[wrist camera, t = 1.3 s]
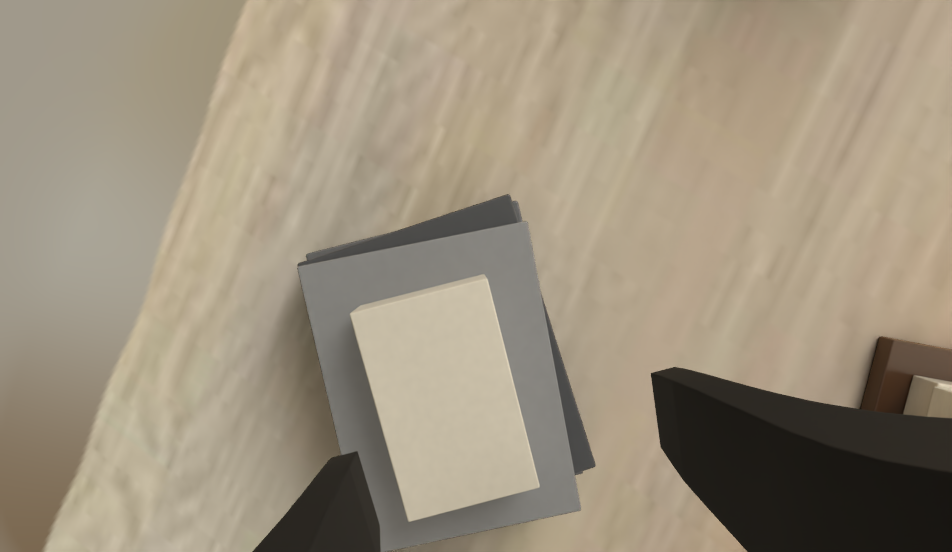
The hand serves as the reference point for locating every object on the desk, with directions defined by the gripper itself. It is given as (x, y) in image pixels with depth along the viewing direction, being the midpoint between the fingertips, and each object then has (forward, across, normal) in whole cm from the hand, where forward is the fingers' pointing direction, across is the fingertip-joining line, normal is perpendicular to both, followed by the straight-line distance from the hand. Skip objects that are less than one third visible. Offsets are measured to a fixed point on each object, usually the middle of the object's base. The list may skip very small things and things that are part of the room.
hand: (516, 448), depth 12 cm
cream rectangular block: (+8, +1, +2) cm, 8 cm away
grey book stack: (+12, +1, +2) cm, 12 cm away
